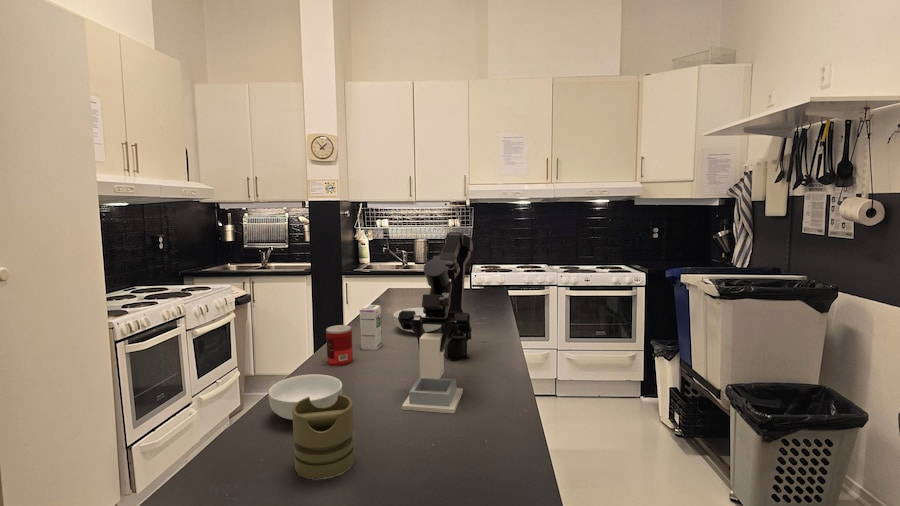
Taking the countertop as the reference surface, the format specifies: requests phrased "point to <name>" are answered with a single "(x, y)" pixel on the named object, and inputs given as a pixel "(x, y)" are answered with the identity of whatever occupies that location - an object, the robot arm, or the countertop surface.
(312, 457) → the piston
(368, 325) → the syrup box
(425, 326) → the serving bowl
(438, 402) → the socket
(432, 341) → the plug
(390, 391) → the countertop surface
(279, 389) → the cereal bowl
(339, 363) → the canned food
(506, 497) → the countertop surface
